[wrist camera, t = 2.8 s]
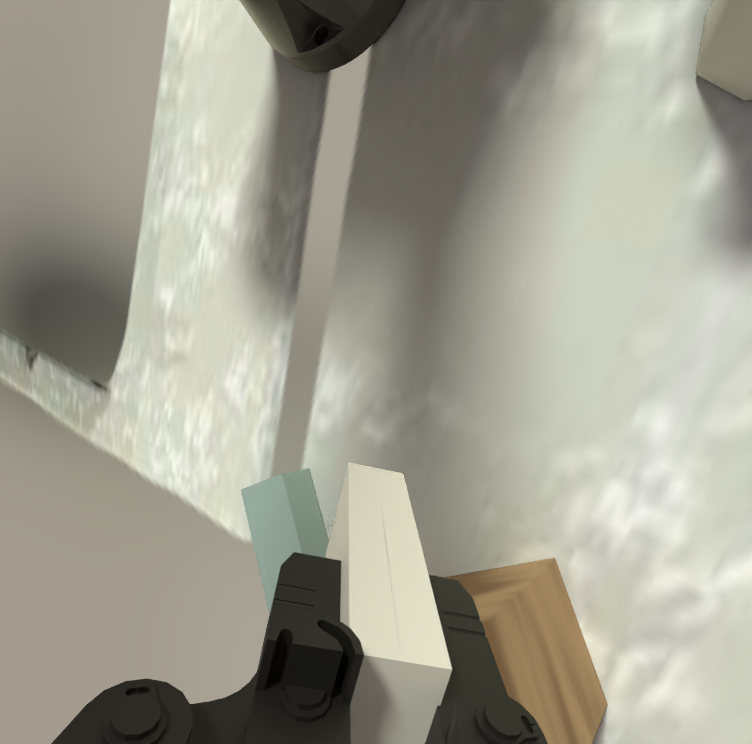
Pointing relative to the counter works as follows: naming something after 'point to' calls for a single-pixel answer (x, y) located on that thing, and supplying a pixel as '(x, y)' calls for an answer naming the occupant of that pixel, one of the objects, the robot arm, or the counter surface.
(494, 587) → the block
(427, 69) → the counter surface
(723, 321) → the counter surface
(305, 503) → the board
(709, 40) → the flask
